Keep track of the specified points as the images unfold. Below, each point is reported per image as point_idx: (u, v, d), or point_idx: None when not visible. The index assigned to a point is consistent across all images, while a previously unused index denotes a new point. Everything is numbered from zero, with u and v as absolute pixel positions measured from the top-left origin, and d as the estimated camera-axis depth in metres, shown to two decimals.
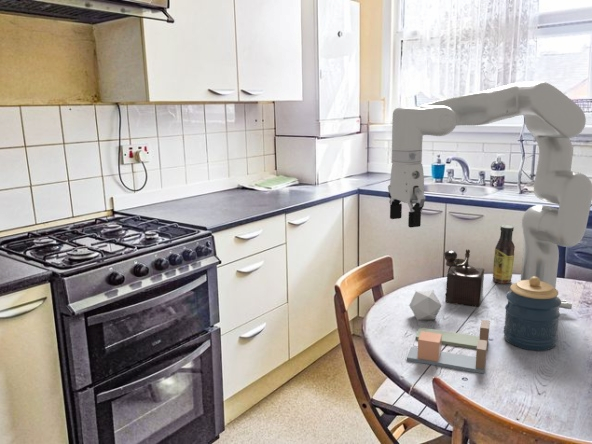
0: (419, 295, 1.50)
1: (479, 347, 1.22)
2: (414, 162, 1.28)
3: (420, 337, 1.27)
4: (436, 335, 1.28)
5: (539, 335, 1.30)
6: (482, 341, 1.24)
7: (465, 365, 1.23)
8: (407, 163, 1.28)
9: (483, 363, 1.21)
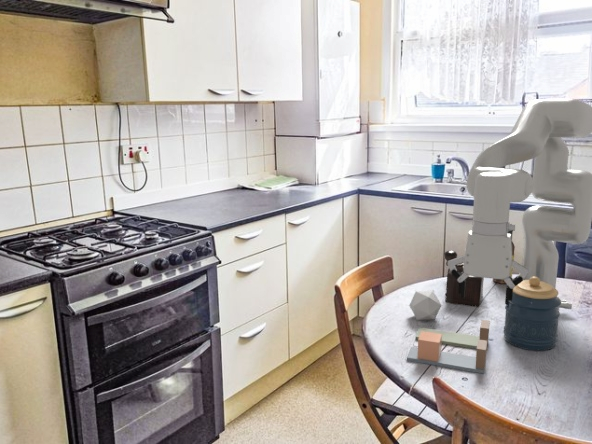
0: (419, 295, 1.50)
1: (479, 347, 1.22)
2: (507, 233, 1.15)
3: (420, 337, 1.27)
4: (436, 335, 1.28)
5: (539, 335, 1.30)
6: (482, 341, 1.24)
7: (465, 365, 1.23)
8: (505, 236, 1.13)
9: (483, 363, 1.21)
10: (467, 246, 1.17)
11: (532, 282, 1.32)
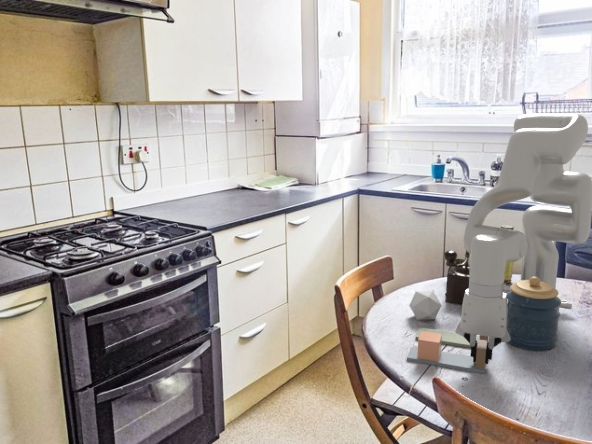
0: (419, 295, 1.50)
1: (479, 347, 1.22)
2: (502, 293, 1.18)
3: (420, 337, 1.27)
4: (436, 335, 1.28)
5: (539, 335, 1.30)
6: (482, 341, 1.24)
7: (465, 365, 1.23)
8: (501, 297, 1.17)
9: (483, 363, 1.21)
10: (464, 305, 1.20)
11: (532, 282, 1.32)
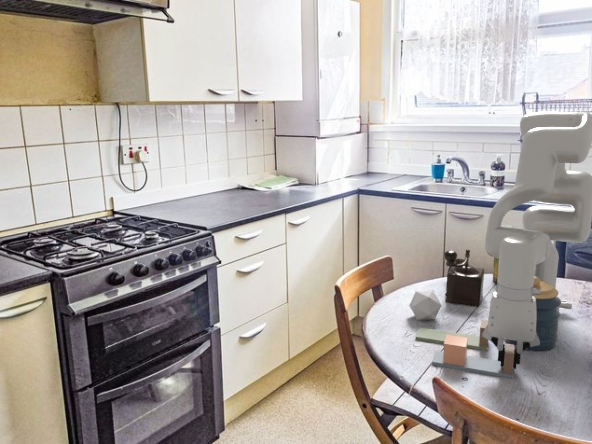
0: (419, 295, 1.50)
1: (506, 351, 1.19)
2: (532, 297, 1.16)
3: (446, 341, 1.25)
4: (462, 339, 1.25)
5: (539, 335, 1.30)
6: (509, 345, 1.22)
7: (492, 370, 1.21)
8: (530, 300, 1.15)
9: (511, 368, 1.19)
10: (492, 309, 1.18)
11: None
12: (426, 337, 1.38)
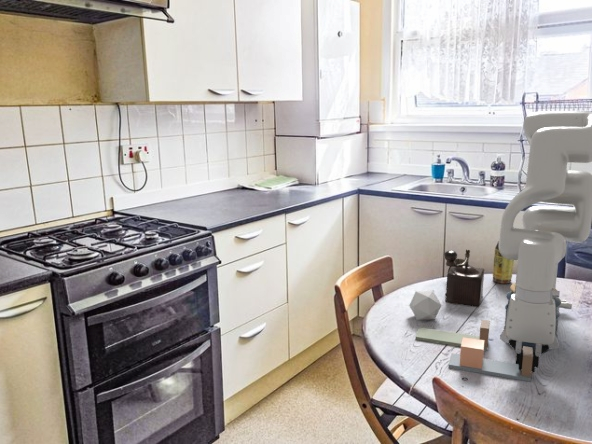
0: (419, 295, 1.50)
1: (525, 354, 1.18)
2: None
3: (462, 344, 1.23)
4: (479, 342, 1.24)
5: None
6: (527, 348, 1.21)
7: (510, 373, 1.20)
8: (549, 302, 1.13)
9: (530, 371, 1.17)
10: (510, 311, 1.17)
11: None
12: (426, 337, 1.38)
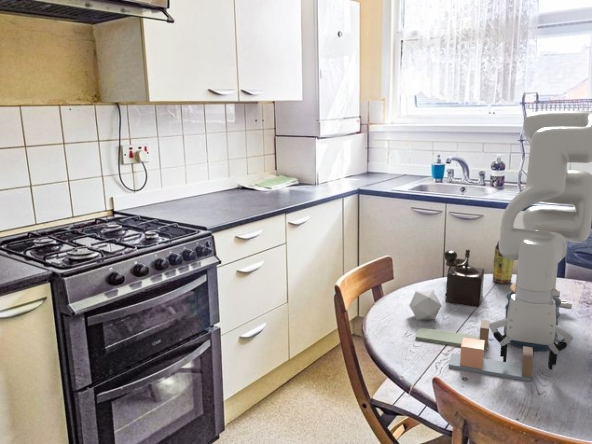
0: (419, 295, 1.50)
1: (525, 354, 1.18)
2: (551, 299, 1.15)
3: (463, 344, 1.23)
4: (479, 342, 1.24)
5: None
6: (528, 348, 1.21)
7: (510, 373, 1.20)
8: (550, 303, 1.13)
9: (530, 371, 1.17)
10: (510, 311, 1.17)
11: None
12: (426, 337, 1.38)
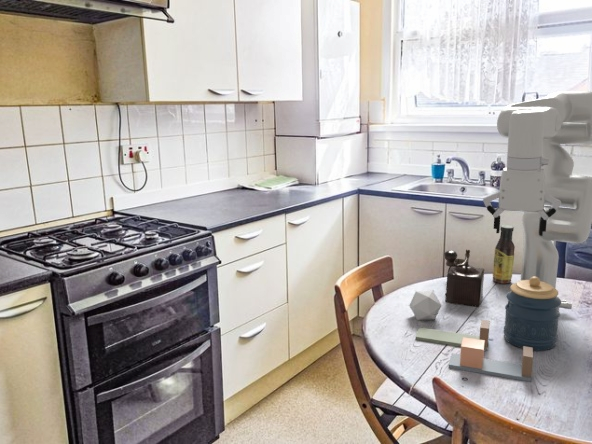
0: (419, 295, 1.50)
1: (525, 354, 1.18)
2: (540, 168, 1.22)
3: (463, 344, 1.23)
4: (479, 342, 1.24)
5: (539, 335, 1.30)
6: (528, 348, 1.21)
7: (510, 373, 1.20)
8: (539, 170, 1.20)
9: (530, 371, 1.17)
10: (502, 182, 1.24)
11: (532, 282, 1.32)
12: (426, 337, 1.38)
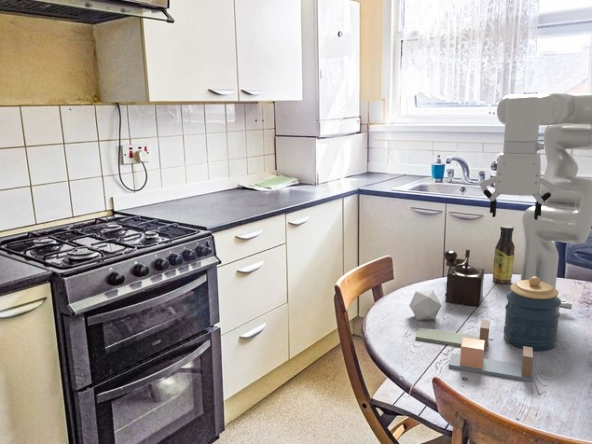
0: (419, 295, 1.50)
1: (525, 354, 1.18)
2: (536, 152, 1.24)
3: (463, 344, 1.23)
4: (479, 342, 1.24)
5: (539, 335, 1.30)
6: (528, 348, 1.21)
7: (510, 373, 1.20)
8: (535, 154, 1.23)
9: (530, 371, 1.17)
10: (499, 166, 1.27)
11: (532, 282, 1.32)
12: (426, 337, 1.38)
